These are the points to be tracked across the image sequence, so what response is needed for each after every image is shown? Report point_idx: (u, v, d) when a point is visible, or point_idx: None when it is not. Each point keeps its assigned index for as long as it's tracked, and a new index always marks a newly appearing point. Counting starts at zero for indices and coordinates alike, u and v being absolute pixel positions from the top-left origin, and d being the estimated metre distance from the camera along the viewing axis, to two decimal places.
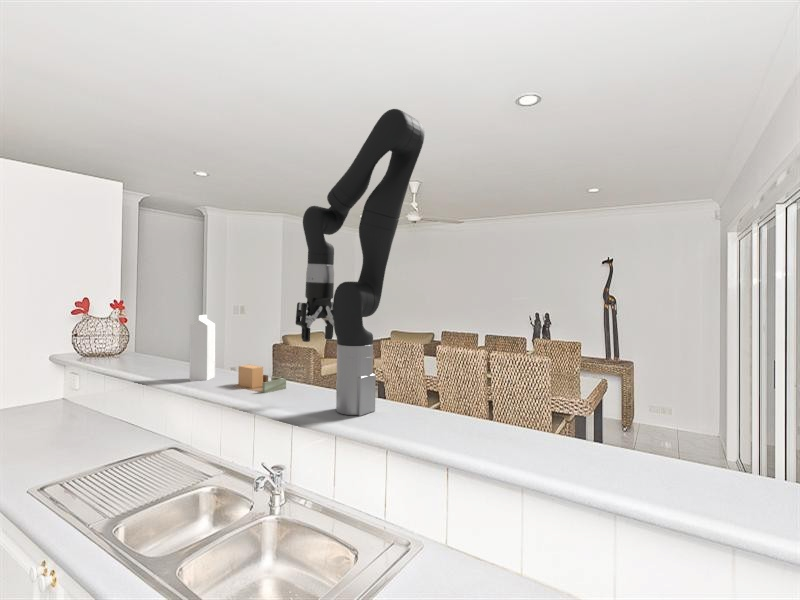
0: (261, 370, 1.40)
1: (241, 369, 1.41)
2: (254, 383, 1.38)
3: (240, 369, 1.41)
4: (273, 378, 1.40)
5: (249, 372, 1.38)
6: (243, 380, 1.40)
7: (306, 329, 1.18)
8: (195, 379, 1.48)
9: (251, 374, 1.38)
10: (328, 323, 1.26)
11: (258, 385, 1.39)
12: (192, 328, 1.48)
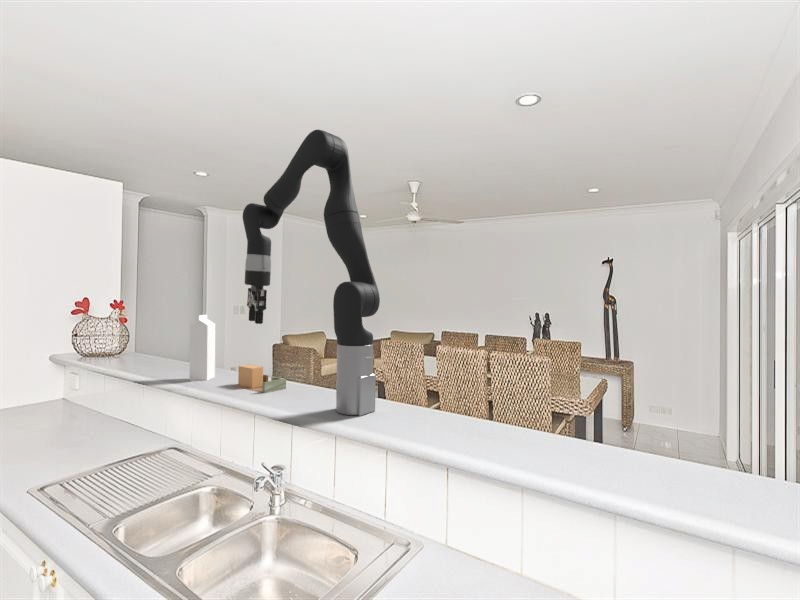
0: (261, 370, 1.40)
1: (241, 369, 1.41)
2: (254, 383, 1.38)
3: (240, 369, 1.41)
4: (273, 378, 1.40)
5: (249, 372, 1.38)
6: (243, 380, 1.40)
7: (262, 312, 1.34)
8: (195, 379, 1.48)
9: (251, 374, 1.38)
10: (252, 307, 1.42)
11: (258, 385, 1.39)
12: (192, 328, 1.48)
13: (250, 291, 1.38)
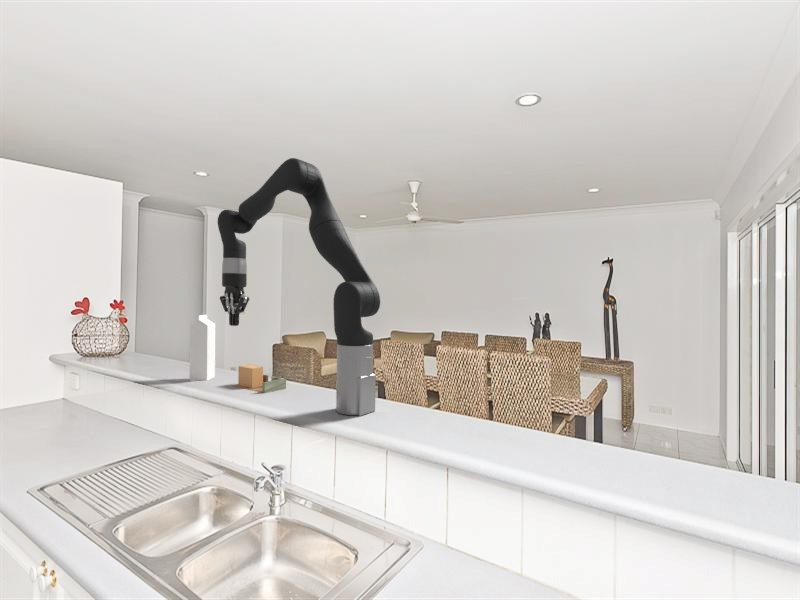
0: (261, 370, 1.40)
1: (241, 369, 1.41)
2: (254, 383, 1.38)
3: (240, 369, 1.41)
4: (273, 378, 1.40)
5: (249, 372, 1.38)
6: (243, 380, 1.40)
7: None
8: (195, 379, 1.48)
9: (251, 374, 1.38)
10: None
11: (258, 385, 1.39)
12: (192, 328, 1.48)
13: (227, 292, 1.45)
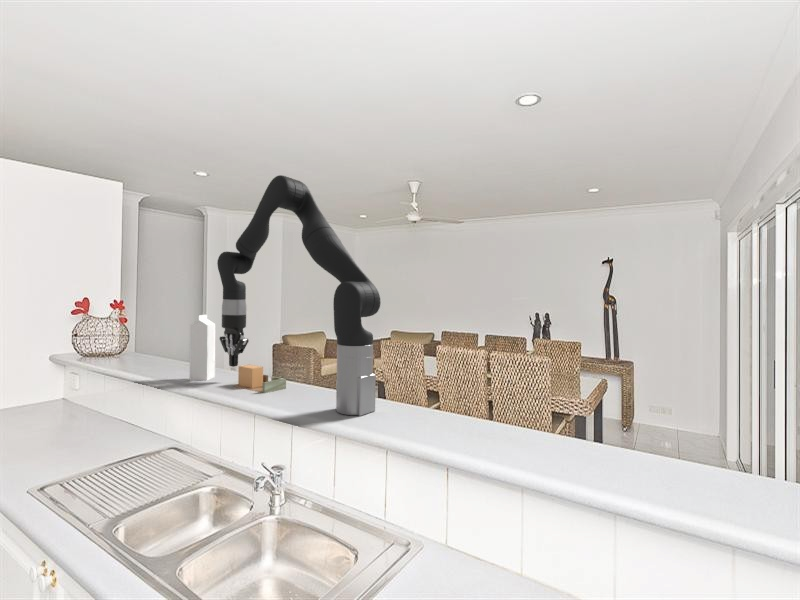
0: (261, 370, 1.40)
1: (241, 369, 1.41)
2: (254, 383, 1.38)
3: (240, 369, 1.41)
4: (273, 378, 1.40)
5: (249, 372, 1.38)
6: (243, 380, 1.40)
7: None
8: (195, 379, 1.48)
9: (251, 374, 1.38)
10: None
11: (258, 385, 1.39)
12: (192, 328, 1.48)
13: (226, 333, 1.45)
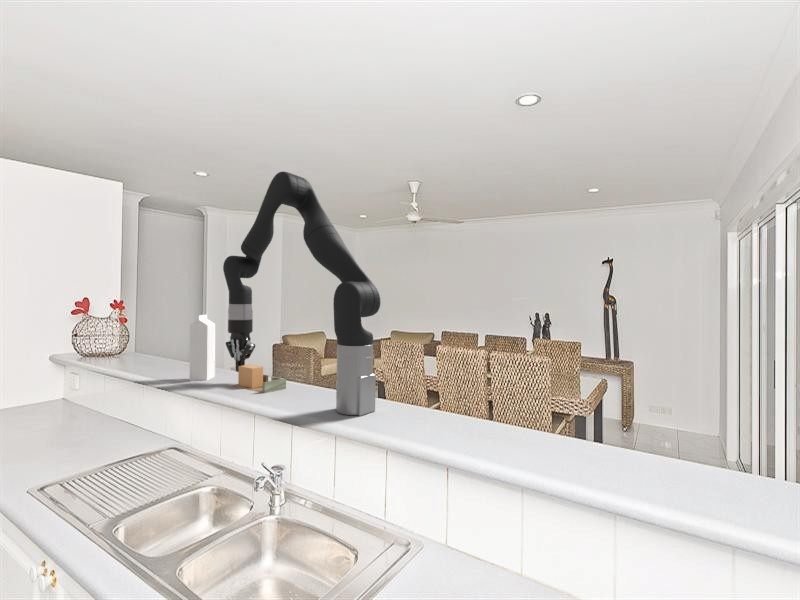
0: (261, 370, 1.40)
1: (241, 369, 1.41)
2: (254, 383, 1.38)
3: (240, 369, 1.41)
4: (273, 378, 1.40)
5: (249, 372, 1.38)
6: (243, 380, 1.40)
7: None
8: (195, 379, 1.48)
9: (251, 374, 1.38)
10: None
11: (258, 385, 1.39)
12: (192, 328, 1.48)
13: (233, 338, 1.43)
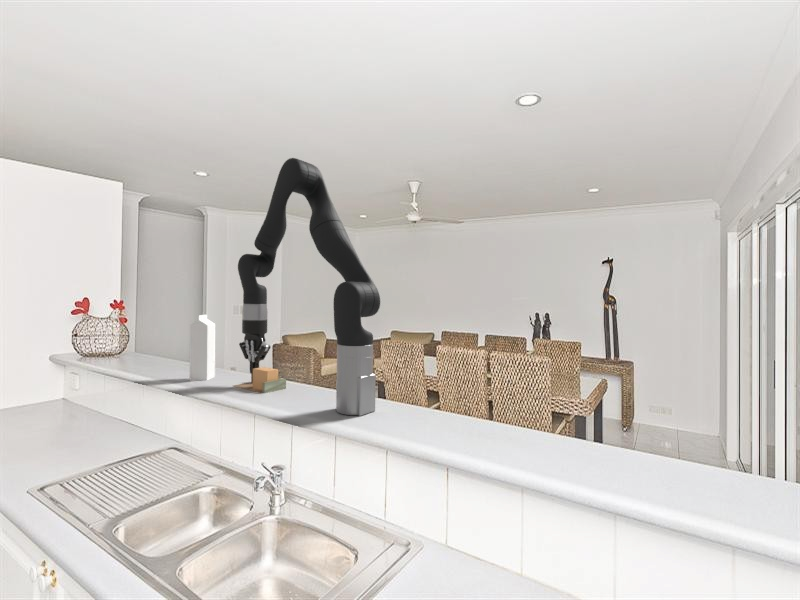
0: (276, 373, 1.36)
1: (255, 372, 1.36)
2: None
3: (254, 372, 1.37)
4: None
5: (264, 375, 1.34)
6: (257, 383, 1.36)
7: None
8: (195, 379, 1.48)
9: (266, 377, 1.34)
10: None
11: None
12: (192, 328, 1.48)
13: (247, 339, 1.39)
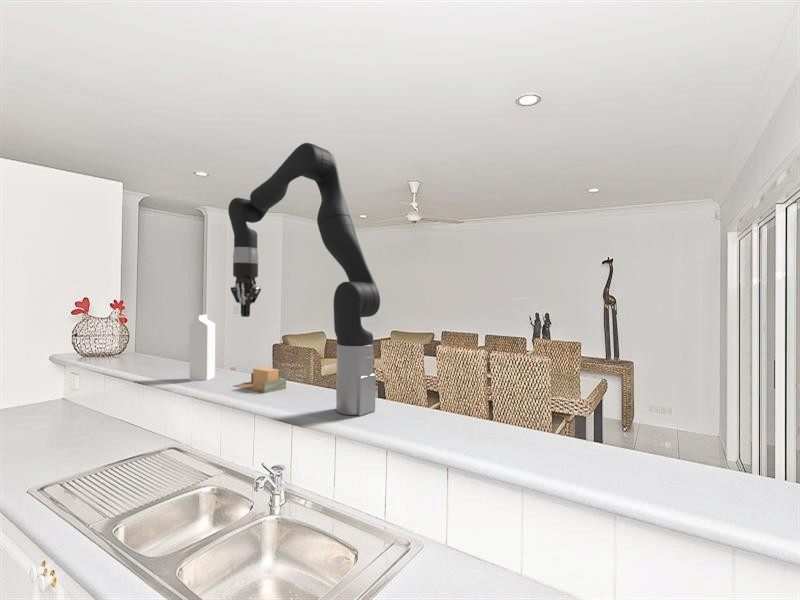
0: (276, 373, 1.36)
1: (256, 372, 1.36)
2: None
3: (255, 372, 1.37)
4: None
5: (264, 375, 1.34)
6: (258, 383, 1.36)
7: None
8: (195, 379, 1.48)
9: (266, 377, 1.34)
10: None
11: None
12: (192, 328, 1.48)
13: (238, 283, 1.42)
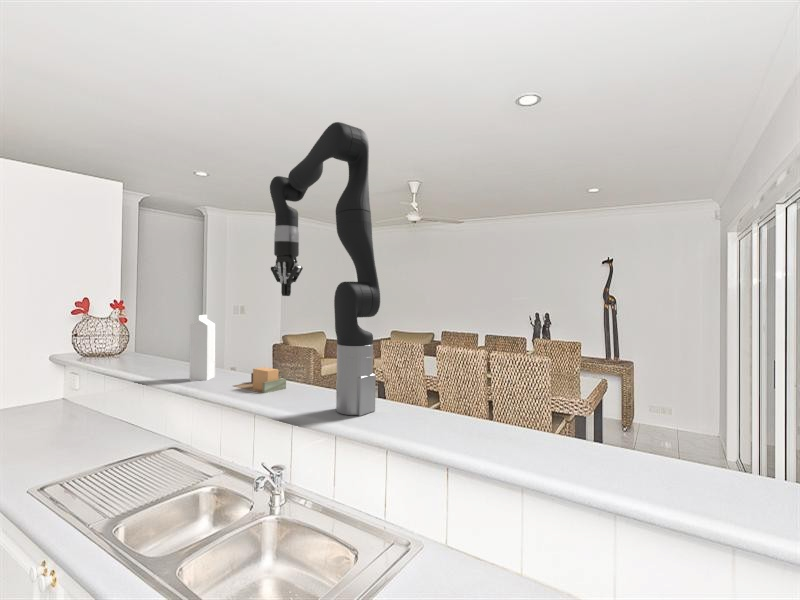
0: (276, 373, 1.36)
1: (256, 372, 1.36)
2: None
3: (255, 372, 1.37)
4: None
5: (264, 375, 1.34)
6: (258, 383, 1.36)
7: None
8: (195, 379, 1.48)
9: (266, 377, 1.34)
10: None
11: None
12: (192, 328, 1.48)
13: (279, 262, 1.41)
